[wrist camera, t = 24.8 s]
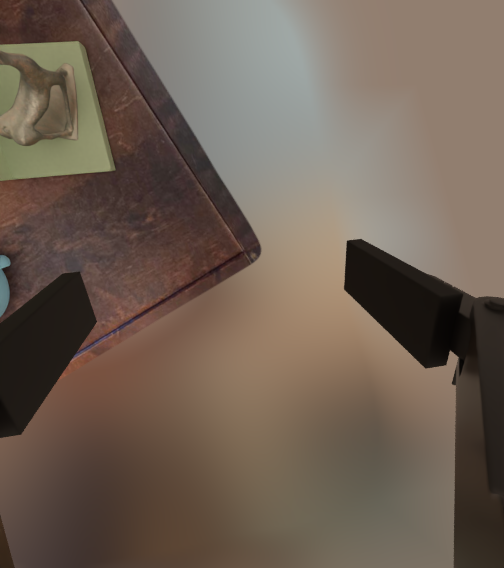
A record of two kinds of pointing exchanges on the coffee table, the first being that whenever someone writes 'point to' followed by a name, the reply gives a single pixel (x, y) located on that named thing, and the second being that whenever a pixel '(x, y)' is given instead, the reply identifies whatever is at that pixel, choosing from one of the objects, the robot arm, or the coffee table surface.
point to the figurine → (40, 103)
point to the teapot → (4, 285)
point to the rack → (58, 152)
